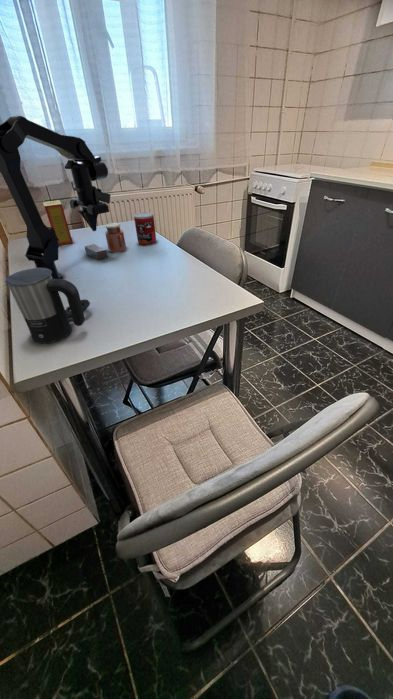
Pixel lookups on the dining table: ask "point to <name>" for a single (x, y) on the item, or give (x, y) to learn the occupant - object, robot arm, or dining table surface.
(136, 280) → the dining table surface
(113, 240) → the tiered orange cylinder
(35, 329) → the milk frother
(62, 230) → the baking soda box
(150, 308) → the dining table surface
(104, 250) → the walnut block
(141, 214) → the canned food
